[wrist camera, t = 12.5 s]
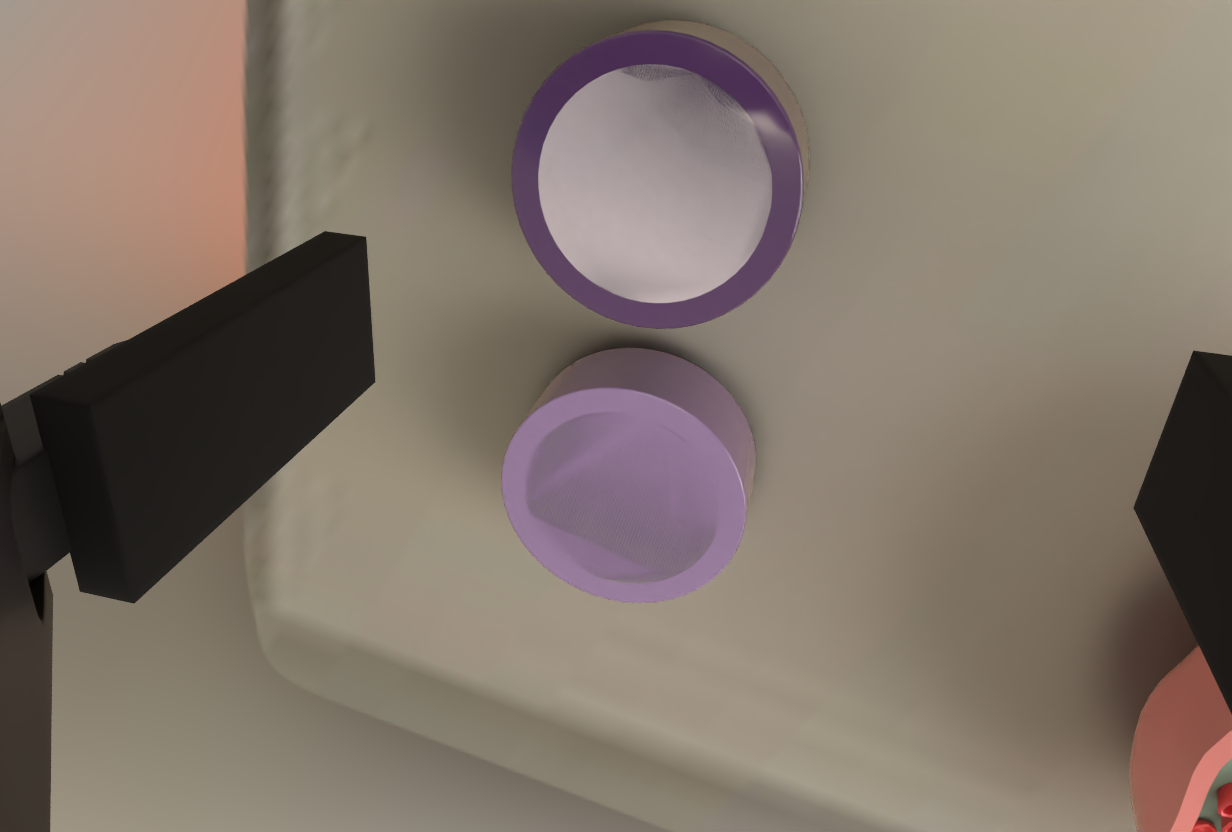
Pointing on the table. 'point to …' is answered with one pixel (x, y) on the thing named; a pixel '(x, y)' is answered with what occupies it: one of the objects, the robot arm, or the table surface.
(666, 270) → the dish middle
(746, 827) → the table surface
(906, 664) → the table surface
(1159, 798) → the cell model
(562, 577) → the dish
